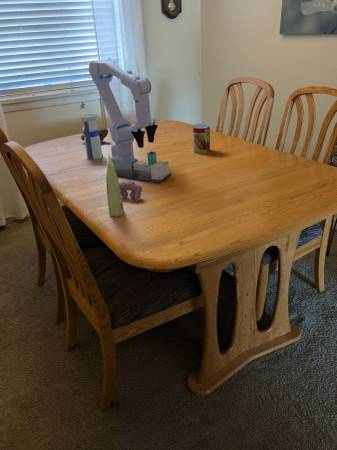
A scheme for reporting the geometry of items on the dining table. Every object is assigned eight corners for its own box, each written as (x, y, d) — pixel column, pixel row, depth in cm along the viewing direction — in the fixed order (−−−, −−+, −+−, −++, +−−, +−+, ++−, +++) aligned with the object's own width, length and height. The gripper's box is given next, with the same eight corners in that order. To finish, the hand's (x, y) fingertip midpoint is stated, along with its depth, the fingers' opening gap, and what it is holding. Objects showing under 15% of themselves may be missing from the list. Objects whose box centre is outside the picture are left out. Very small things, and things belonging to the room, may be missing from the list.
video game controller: (142, 202, 135) (144, 183, 134) (137, 202, 130) (139, 182, 130) (117, 200, 137) (118, 181, 137) (111, 200, 133) (113, 180, 133)
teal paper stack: (127, 168, 154) (125, 150, 151) (131, 166, 156) (129, 148, 153) (160, 173, 147) (158, 155, 143) (163, 171, 149) (162, 153, 145)
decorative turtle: (109, 144, 196) (106, 129, 192) (80, 148, 197) (77, 133, 193) (111, 138, 204) (108, 124, 200) (84, 141, 206) (81, 127, 201)
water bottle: (81, 159, 177) (72, 104, 165) (91, 153, 184) (83, 100, 172) (96, 160, 174) (88, 104, 163) (106, 154, 181) (99, 101, 169)
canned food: (210, 153, 175) (210, 127, 169) (193, 154, 175) (193, 128, 169) (209, 148, 182) (209, 123, 176) (192, 149, 182) (192, 124, 176)
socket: (151, 178, 148) (150, 165, 145) (160, 173, 153) (159, 160, 150) (160, 180, 146) (159, 166, 143) (169, 174, 151) (168, 161, 148)
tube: (104, 214, 125) (96, 157, 115) (116, 208, 128) (108, 152, 119) (116, 218, 121) (108, 160, 112) (127, 212, 125) (121, 155, 115)
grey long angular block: (107, 175, 157) (105, 160, 154) (121, 167, 164) (119, 153, 161) (158, 184, 145) (157, 168, 142) (171, 175, 152) (170, 160, 149)
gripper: (141, 115, 142) (144, 150, 148) (161, 108, 153) (163, 141, 159) (126, 114, 145) (129, 149, 152) (146, 107, 156) (149, 139, 163)
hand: (146, 145), depth 156 cm, fingers open, 7 cm apart
